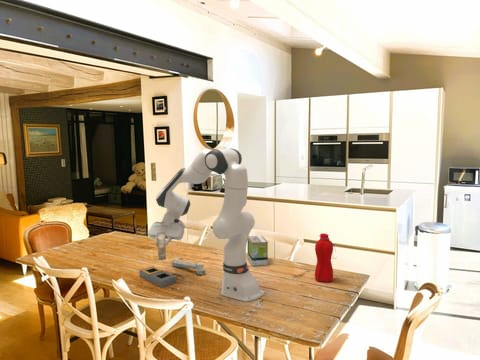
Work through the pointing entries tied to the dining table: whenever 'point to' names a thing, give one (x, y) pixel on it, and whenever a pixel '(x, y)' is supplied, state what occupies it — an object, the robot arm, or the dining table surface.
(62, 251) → the dining table surface
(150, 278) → the grey peg hole block
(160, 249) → the peg
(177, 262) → the grey long bar
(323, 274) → the water bottle
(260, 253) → the tea box
